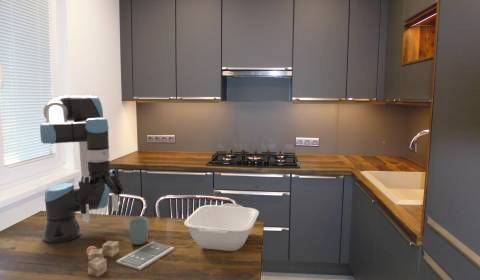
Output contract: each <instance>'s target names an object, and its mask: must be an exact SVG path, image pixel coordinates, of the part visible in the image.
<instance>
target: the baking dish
mask: <svg viewBox="0 0 480 280" xmlns="http://www.w3.org/2000/svg"><path fill="white" fill-rule="evenodd" d="M259 214H260V212H259V210H257V209H256V208H254V207H244V206H242V205H239V204H237V203H222V204H220V205H219V204H218V205H215V204H208V205H203V206H202V205H201V206H199V207H197V208H196V209H195V211H193V213H191V214H190V215H189V216H188V217H187V218H186V219H185V220H184V223H183V225H184V226H185V227H186V228H188V230H189V233H190V237H192V240H193V241H194V242H195V243H196V244H197V245H199V246H200V247H201V248H202V249H206V250H215V251H217V250H218V251H226V252H228V251H229V252H235V251H238V250H240V249H241V248H242V247H243V245H244V244H245V243H246V241H247V239H248V237H249V236H250V233H251V231H252V228H254V225H255V223H256V221H257V219H258V217H259Z"/></svg>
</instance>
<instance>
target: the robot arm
mask: <svg viewBox="0 0 480 280" xmlns="http://www.w3.org/2000/svg"><path fill="white" fill-rule="evenodd" d="M43 116H44V118H45V119H46V120H45V121H46V122H45V123H41V124H39V125H40V126H39V131H40V141H41V143H42V144H43V145H44V144H51V145H54V144H65V143H66V144H67V143H68V144H69V143H79V144H78V145H79V146H78V147H79V159H80V162H79V163H80V172H81V178H80V180H79V181H77V182H78V183H77V184H78V185H76V186H75V185H74V183H71V182H65V183H59V184H56V185H52V186H50V187H48V188H47V189H46V190H45V192H44V203H45V214H46V215H45V216H46V217H45V218H46V223H45V227H44V231H43V234H42V238H43V239H42V240H43V241H45V242H46V243H53V244H54V243H64V242H69V241H72V240H74V239H77V238H78V237H80V236H81V232H82V231H81V227H80V224H79V222H78V220H77V217H76V213H77V212H78V213H79V212H80V214H81V216H82V222H84V223H90V220H91V219H90V211H92V210H94V211H95V210H101V209H105V208H106V207H107V206H108V205H109V199H110V191H111V192H112V193H111V205H112V206H111V209H112V211H114V212H119V211H120V207H119V203H120V195H122V192H123V191H124V188H123V185H122V183H121V181H120V180H119V177H118V175H117V171H116V170H115V169H111V162H110V160H109V159H110V147H109V146H110V145H109V124H108V123H109V122H108V120H107V118H104V110H103V105H102V103H101V99H100V98H99V97H98V96H96V95H95V96H94V95H93V96H92V95H63V96H62V95H61V96H58V97H55V98H53V99H51V100H49V101H48V102H47V103H46V104H45V105H44V108H43ZM72 121H73V122H72ZM109 177H110V178H109Z"/></svg>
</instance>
